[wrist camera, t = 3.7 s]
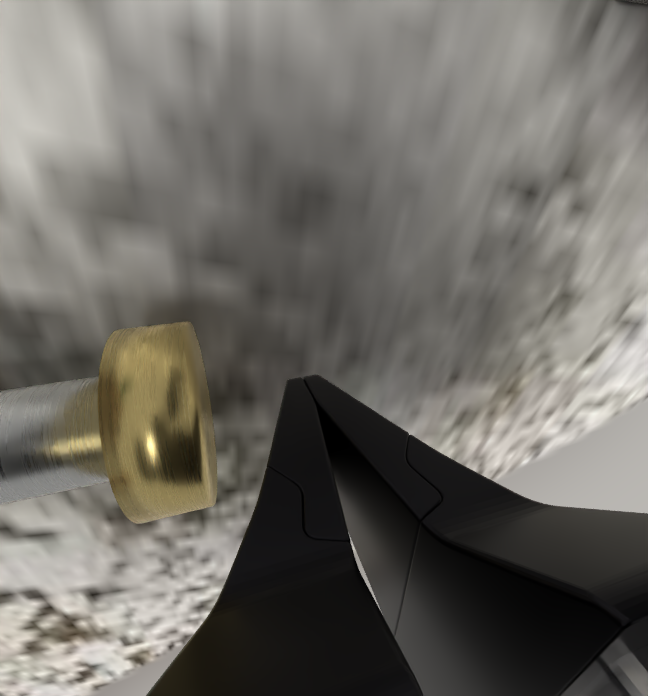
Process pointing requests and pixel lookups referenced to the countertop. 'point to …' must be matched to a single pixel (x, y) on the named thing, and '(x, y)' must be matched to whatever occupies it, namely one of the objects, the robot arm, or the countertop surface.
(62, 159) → the countertop surface
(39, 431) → the pin
